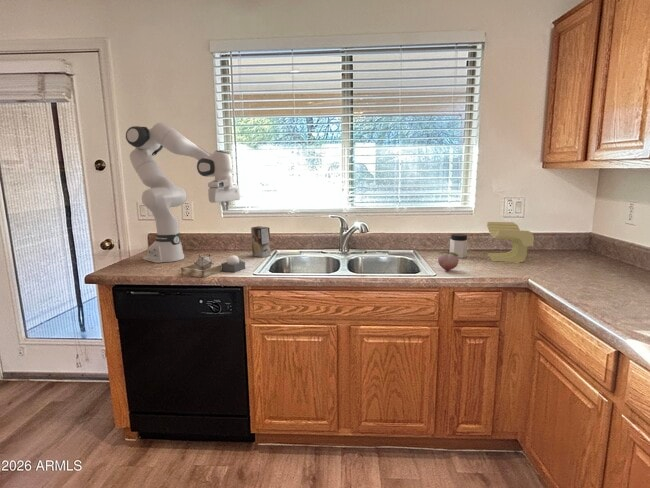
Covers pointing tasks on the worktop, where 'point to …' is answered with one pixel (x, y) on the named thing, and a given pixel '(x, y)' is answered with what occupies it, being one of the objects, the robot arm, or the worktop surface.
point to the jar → (459, 244)
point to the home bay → (199, 271)
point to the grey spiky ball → (203, 262)
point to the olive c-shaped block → (515, 235)
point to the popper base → (233, 266)
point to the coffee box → (260, 241)
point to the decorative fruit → (448, 260)
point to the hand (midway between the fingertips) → (225, 210)
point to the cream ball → (233, 260)
